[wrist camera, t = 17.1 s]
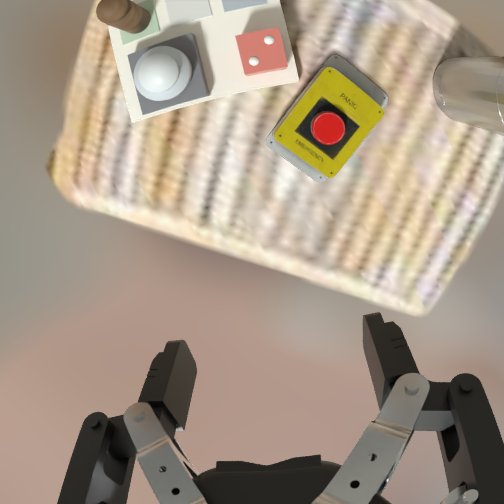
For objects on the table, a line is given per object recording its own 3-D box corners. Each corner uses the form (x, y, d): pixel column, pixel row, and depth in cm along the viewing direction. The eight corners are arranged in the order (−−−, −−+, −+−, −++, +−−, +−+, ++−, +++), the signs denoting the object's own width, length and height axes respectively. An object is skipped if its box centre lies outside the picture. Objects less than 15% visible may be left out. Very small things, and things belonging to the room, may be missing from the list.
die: (277, 34, 31) (278, 27, 27) (285, 69, 33) (288, 66, 29) (238, 41, 31) (235, 35, 27) (247, 76, 33) (244, 74, 29)
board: (267, -37, 27) (267, -47, 24) (298, 81, 35) (301, 81, 32) (109, 10, 30) (97, 6, 27) (136, 121, 38) (125, 125, 35)
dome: (189, 42, 31) (179, 37, 27) (201, 91, 34) (192, 91, 30) (139, 59, 32) (124, 56, 28) (151, 106, 35) (137, 108, 31)
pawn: (147, 4, 29) (118, -16, 21) (153, 27, 30) (124, 12, 22) (121, 15, 29) (87, 0, 21) (126, 38, 31) (93, 27, 23)
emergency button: (262, 148, 35) (340, 47, 29) (262, 142, 39) (333, 51, 33) (326, 194, 37) (402, 100, 31) (320, 184, 41) (389, 98, 35)
